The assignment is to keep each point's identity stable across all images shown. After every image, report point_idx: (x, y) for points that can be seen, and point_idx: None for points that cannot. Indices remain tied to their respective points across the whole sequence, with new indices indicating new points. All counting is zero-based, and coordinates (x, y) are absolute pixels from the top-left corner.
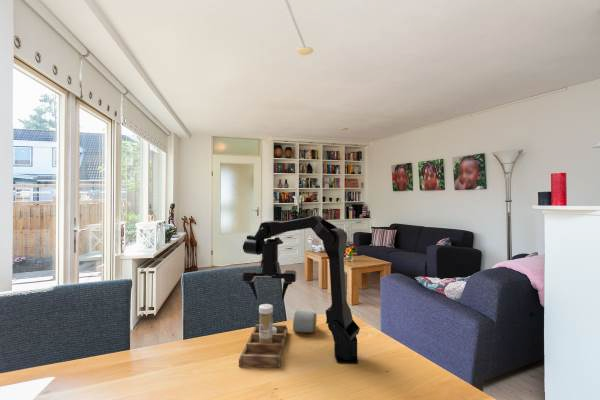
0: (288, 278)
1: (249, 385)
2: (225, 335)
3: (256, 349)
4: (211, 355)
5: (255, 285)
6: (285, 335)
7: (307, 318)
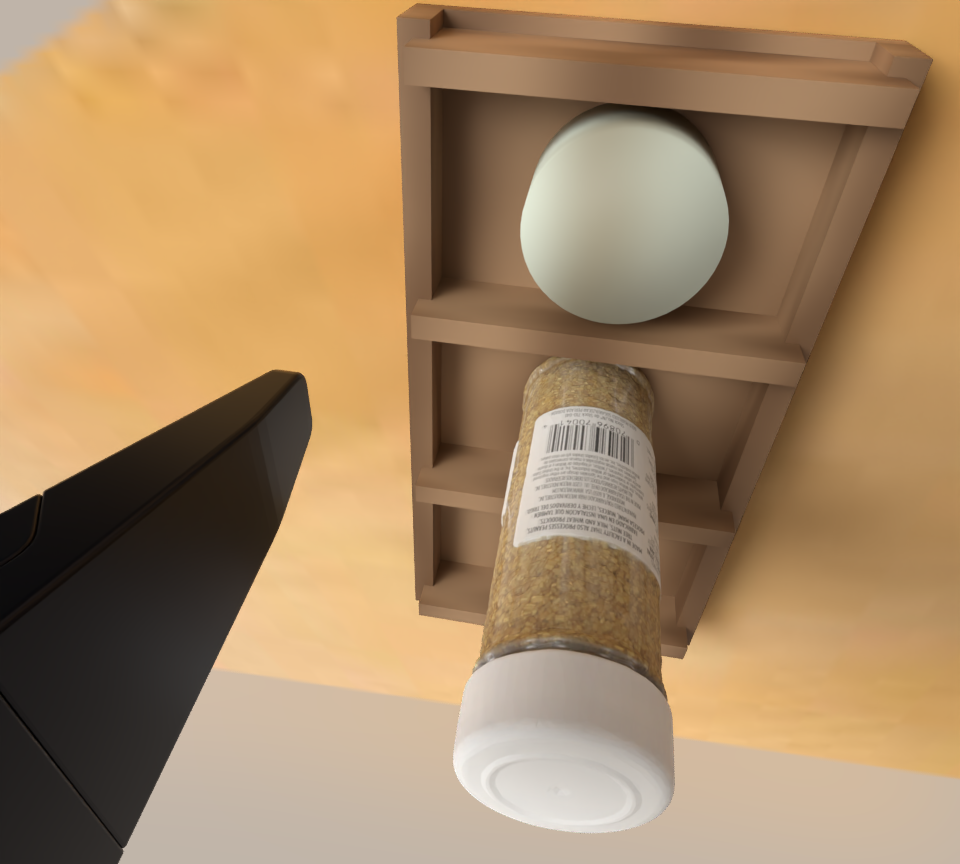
0: None
1: None
2: (96, 109)
3: None
4: None
5: (67, 854)
6: (824, 315)
7: None
